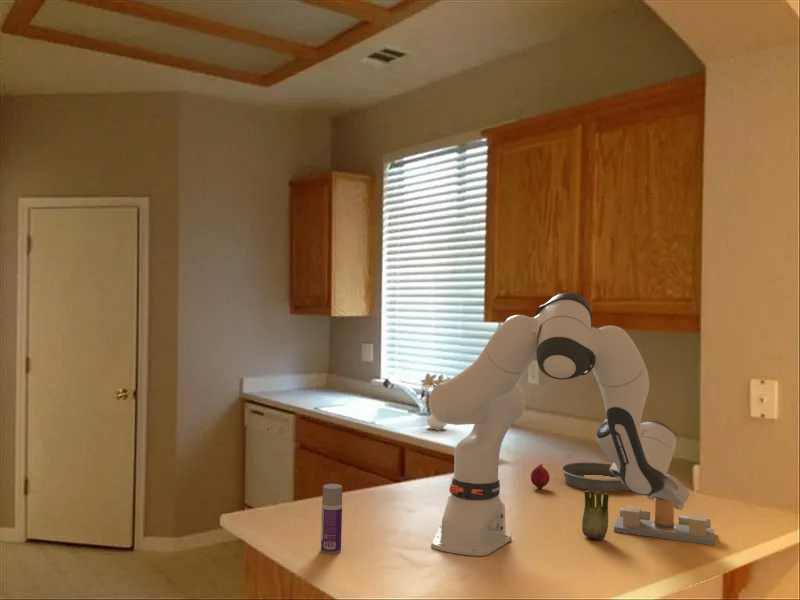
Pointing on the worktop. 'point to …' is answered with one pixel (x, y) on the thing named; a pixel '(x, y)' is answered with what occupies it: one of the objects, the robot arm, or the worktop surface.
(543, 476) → the onion
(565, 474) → the cake pan
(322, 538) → the container
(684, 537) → the bench
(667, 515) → the sleeve
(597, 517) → the fennel bulb
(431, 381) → the flower vase
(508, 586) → the worktop surface
